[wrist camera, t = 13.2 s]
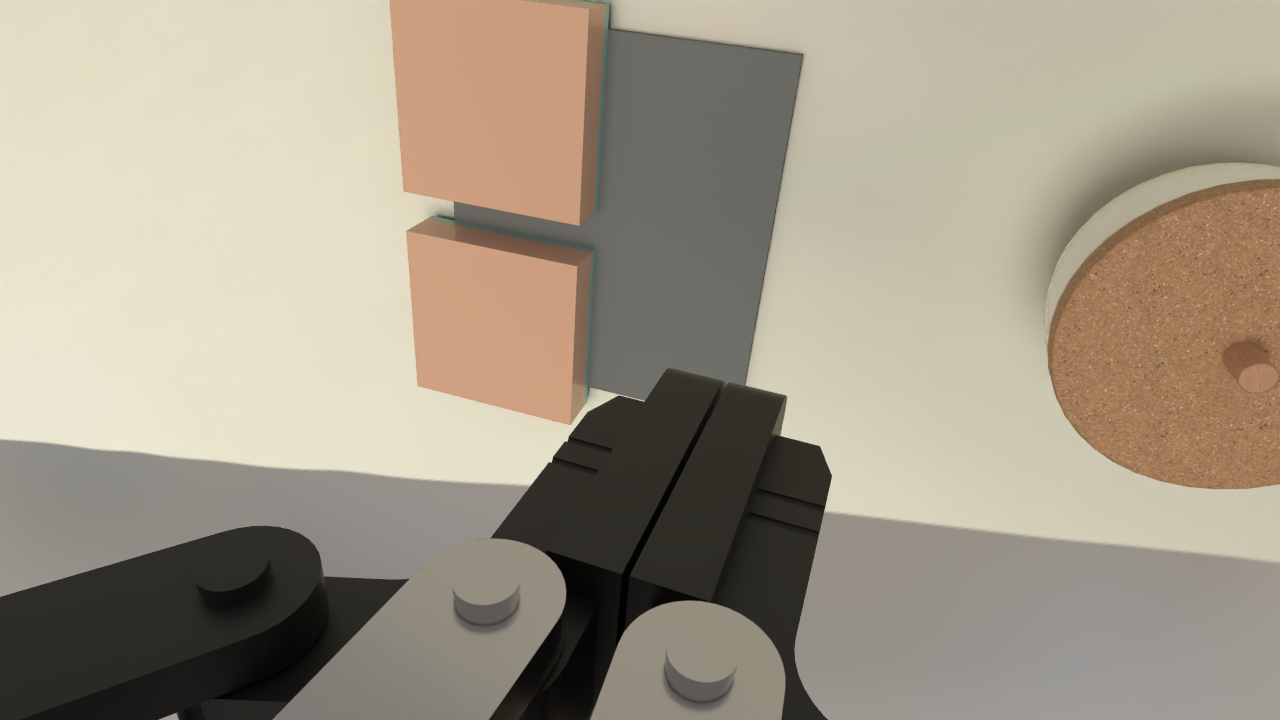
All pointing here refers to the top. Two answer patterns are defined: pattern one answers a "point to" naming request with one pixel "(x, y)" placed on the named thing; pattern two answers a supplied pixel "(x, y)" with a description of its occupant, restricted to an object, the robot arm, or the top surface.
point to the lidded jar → (1176, 327)
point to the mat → (677, 207)
